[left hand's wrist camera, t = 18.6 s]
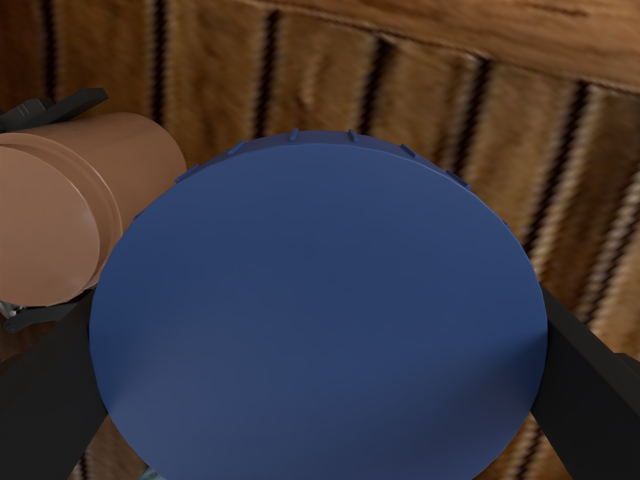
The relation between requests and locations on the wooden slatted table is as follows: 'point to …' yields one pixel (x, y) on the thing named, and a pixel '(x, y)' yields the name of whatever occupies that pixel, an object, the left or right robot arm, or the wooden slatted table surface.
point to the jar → (75, 199)
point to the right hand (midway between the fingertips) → (141, 164)
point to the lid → (318, 319)
